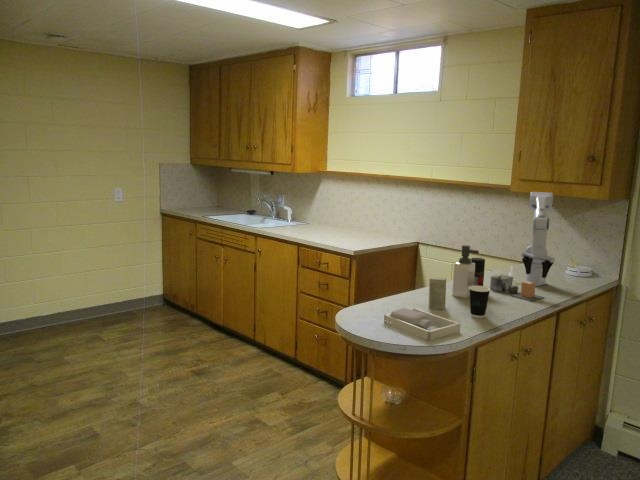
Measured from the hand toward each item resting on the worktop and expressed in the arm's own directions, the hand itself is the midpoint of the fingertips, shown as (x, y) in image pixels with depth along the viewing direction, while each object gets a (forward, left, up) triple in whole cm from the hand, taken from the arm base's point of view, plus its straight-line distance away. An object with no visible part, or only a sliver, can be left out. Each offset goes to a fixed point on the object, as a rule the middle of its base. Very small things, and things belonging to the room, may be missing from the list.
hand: (536, 275), depth 227 cm
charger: (+74, -1, -10) cm, 75 cm away
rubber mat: (+4, -1, -9) cm, 10 cm away
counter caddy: (+73, +1, -9) cm, 73 cm away
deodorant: (+16, -19, -10) cm, 26 cm away
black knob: (+3, -9, -9) cm, 13 cm away
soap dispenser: (+26, -17, -10) cm, 32 cm away
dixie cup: (+45, +4, -10) cm, 46 cm away
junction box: (+3, -15, -9) cm, 18 cm away
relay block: (+4, -1, -9) cm, 10 cm away
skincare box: (+50, -12, -10) cm, 52 cm away
